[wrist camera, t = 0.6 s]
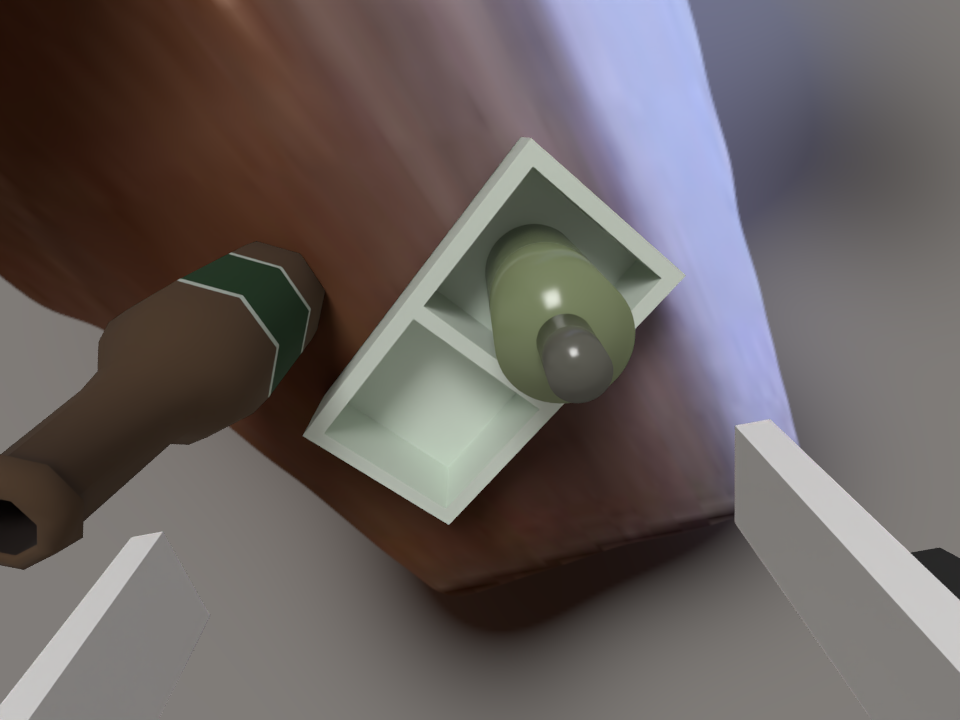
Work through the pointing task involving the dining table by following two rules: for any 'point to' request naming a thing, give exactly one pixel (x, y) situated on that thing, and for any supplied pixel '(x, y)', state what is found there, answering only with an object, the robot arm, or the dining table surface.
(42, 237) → the dining table surface
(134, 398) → the beer bottle
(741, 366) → the dining table surface
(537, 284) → the olive bottle
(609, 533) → the dining table surface
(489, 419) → the caddy
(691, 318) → the dining table surface
